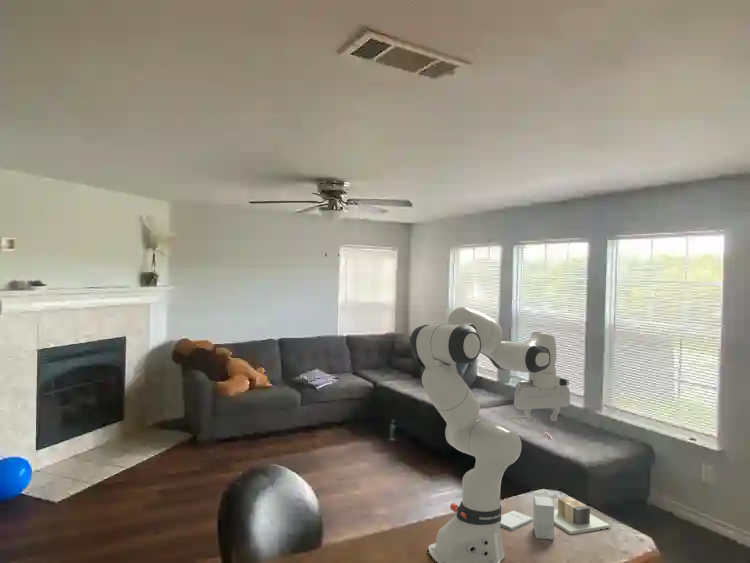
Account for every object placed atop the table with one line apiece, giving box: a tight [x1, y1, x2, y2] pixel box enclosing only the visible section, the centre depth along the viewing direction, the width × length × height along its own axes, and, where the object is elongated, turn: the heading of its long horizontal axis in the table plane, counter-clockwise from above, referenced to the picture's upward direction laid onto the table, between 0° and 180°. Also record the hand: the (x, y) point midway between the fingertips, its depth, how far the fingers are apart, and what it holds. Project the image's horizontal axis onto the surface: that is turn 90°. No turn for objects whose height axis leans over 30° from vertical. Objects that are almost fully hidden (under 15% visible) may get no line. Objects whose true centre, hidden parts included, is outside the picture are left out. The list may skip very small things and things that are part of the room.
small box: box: [532, 495, 555, 541], centre depth 173 cm, size 8×6×10 cm
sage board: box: [554, 508, 611, 535], centre depth 183 cm, size 16×16×1 cm
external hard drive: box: [500, 510, 533, 531], centre depth 182 cm, size 2×8×12 cm
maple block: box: [557, 496, 591, 525], centre depth 183 cm, size 5×5×10 cm
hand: (541, 421), depth 181 cm, fingers open, 8 cm apart
